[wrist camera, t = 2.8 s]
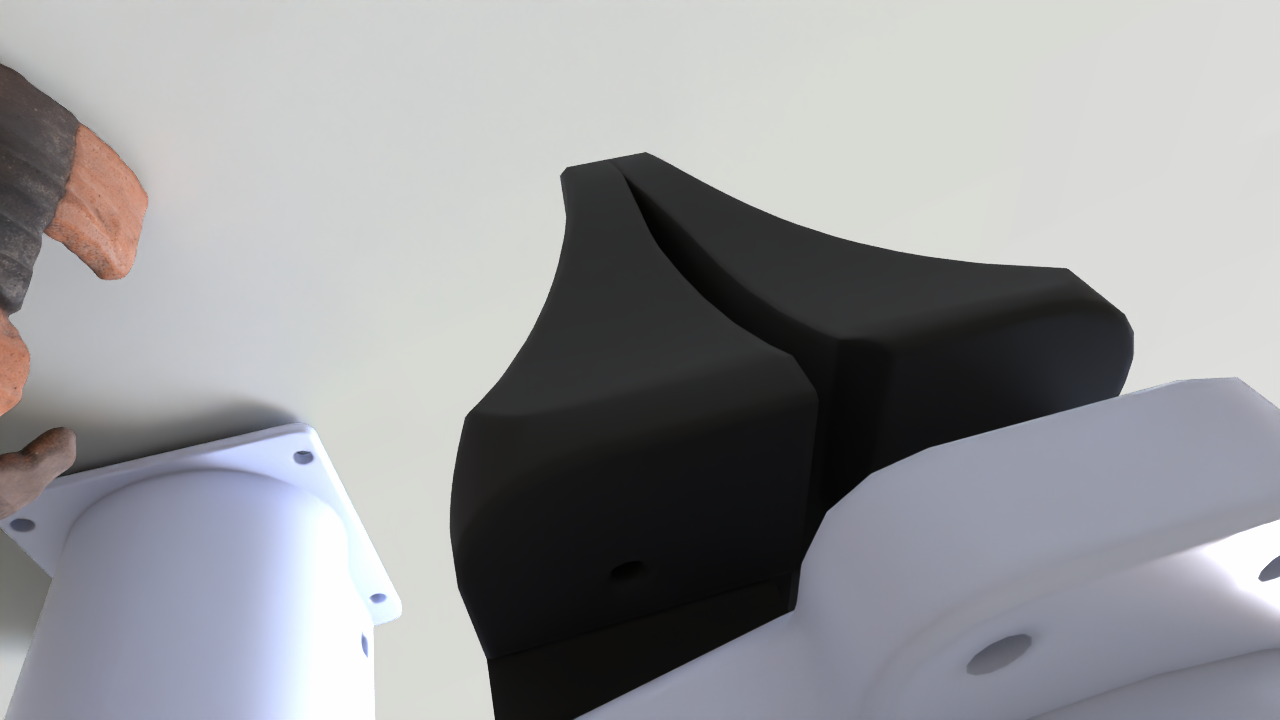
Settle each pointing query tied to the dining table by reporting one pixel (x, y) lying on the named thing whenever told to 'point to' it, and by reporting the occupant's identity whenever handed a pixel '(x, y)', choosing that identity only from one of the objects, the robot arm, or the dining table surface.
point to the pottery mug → (68, 212)
